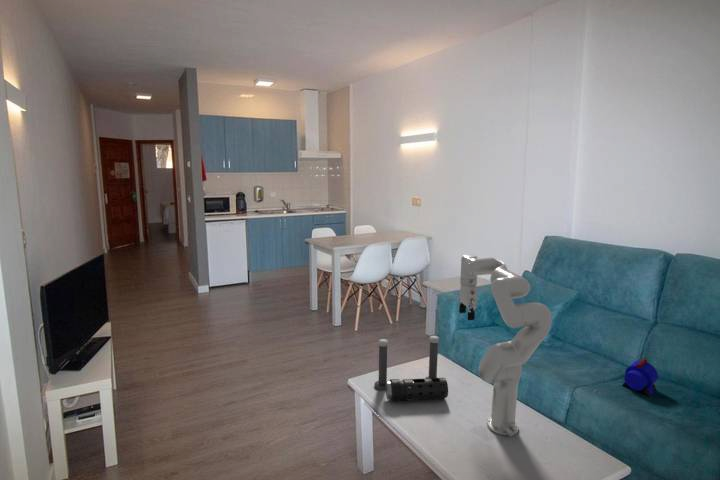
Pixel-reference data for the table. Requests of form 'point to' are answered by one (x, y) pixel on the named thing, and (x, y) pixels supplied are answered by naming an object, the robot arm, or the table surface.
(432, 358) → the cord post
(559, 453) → the table surface
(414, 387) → the muzzle brake
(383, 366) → the cord post
